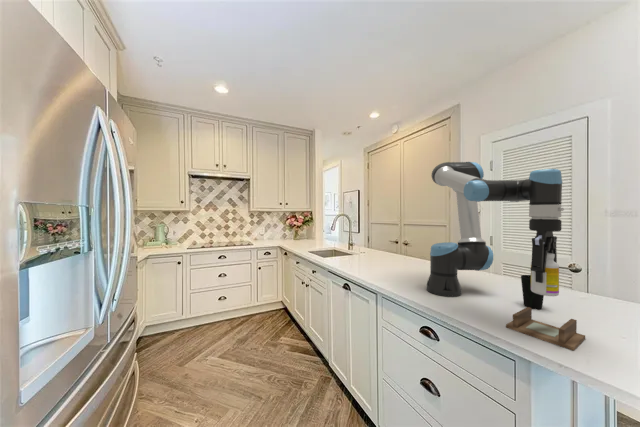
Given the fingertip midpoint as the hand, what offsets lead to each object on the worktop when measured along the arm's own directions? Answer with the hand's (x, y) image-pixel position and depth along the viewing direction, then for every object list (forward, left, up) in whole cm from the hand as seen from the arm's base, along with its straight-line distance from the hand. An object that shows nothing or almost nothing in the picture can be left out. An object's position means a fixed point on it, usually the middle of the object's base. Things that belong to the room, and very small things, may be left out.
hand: (544, 290), depth 77 cm
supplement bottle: (0, 0, -1) cm, 1 cm away
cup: (-10, +24, -14) cm, 30 cm away
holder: (0, 0, -14) cm, 14 cm away
